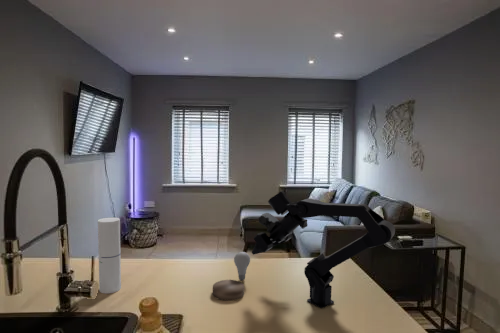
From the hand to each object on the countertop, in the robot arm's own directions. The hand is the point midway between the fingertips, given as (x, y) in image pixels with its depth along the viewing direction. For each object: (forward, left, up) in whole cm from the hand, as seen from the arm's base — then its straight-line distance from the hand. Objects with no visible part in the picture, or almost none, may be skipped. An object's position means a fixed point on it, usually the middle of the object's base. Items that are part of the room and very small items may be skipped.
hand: (259, 250), depth 128 cm
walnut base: (+1, +13, -13) cm, 19 cm away
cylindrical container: (+29, +44, -13) cm, 55 cm away
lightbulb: (+7, +2, -13) cm, 15 cm away
